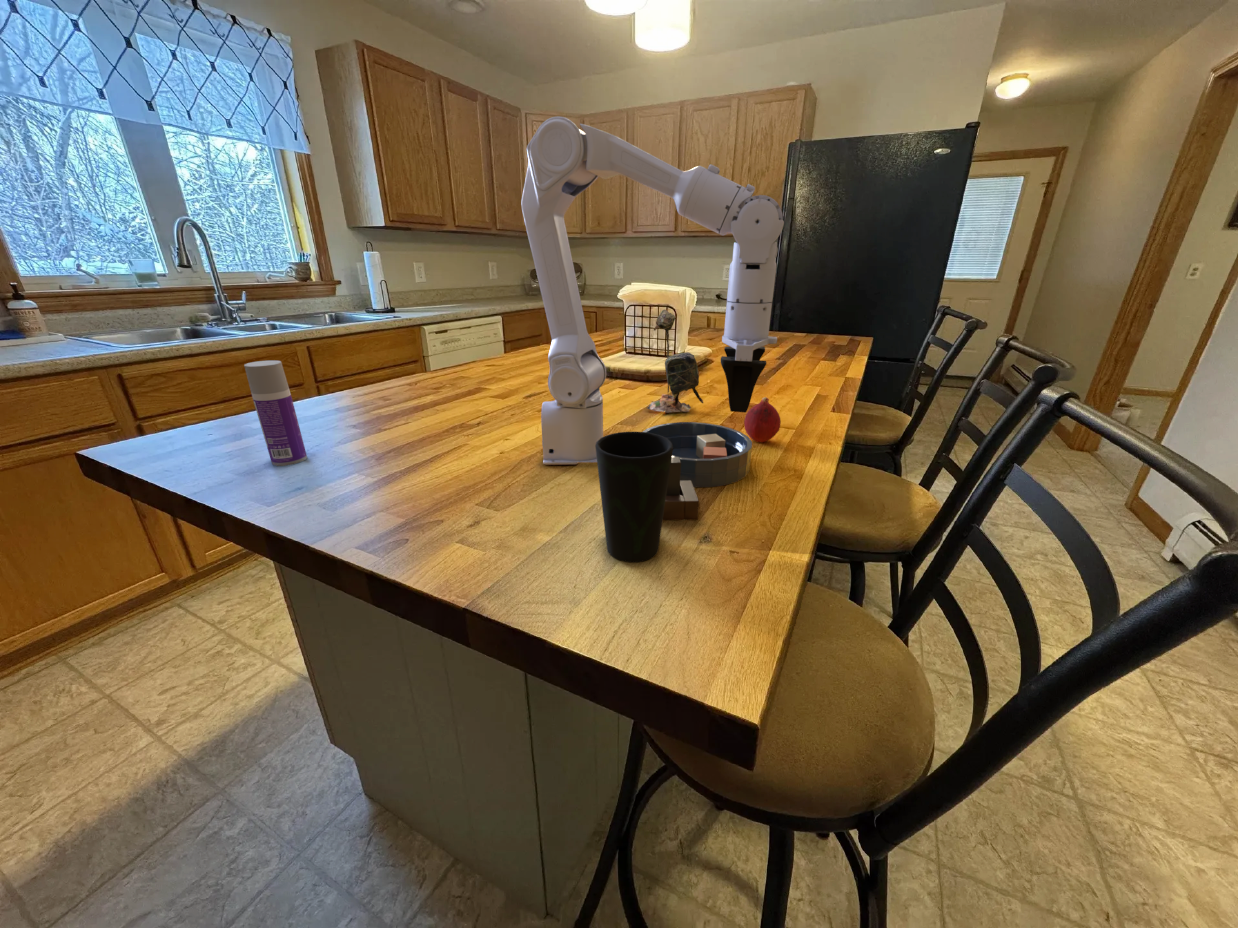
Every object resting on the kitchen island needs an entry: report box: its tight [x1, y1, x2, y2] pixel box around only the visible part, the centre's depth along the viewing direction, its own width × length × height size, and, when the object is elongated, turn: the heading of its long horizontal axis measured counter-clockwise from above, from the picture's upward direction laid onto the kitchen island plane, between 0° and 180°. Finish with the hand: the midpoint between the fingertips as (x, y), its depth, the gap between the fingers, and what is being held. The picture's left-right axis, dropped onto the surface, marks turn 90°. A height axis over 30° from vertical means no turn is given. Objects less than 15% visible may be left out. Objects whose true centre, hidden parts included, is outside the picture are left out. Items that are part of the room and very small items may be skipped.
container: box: [243, 359, 308, 467], centre depth 73 cm, size 5×5×15 cm
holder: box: [663, 480, 700, 521], centre depth 60 cm, size 6×6×3 cm
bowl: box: [642, 421, 753, 488], centre depth 73 cm, size 16×16×4 cm
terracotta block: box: [703, 447, 727, 459], centre depth 70 cm, size 3×3×3 cm
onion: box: [743, 396, 782, 444], centre depth 82 cm, size 6×6×8 cm
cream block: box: [696, 434, 725, 459], centre depth 75 cm, size 3×3×3 cm
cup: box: [595, 431, 673, 563], centre depth 51 cm, size 8×8×12 cm
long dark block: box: [666, 457, 681, 496], centre depth 59 cm, size 2×2×7 cm
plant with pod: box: [646, 309, 704, 414], centre depth 97 cm, size 8×11×20 cm
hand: (739, 403), depth 69 cm, fingers open, 7 cm apart
